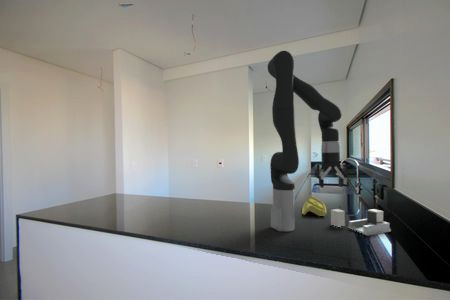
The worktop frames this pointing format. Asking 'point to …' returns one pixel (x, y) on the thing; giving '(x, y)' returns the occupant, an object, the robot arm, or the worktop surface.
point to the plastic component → (314, 206)
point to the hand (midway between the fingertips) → (331, 187)
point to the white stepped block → (371, 224)
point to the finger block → (337, 217)
